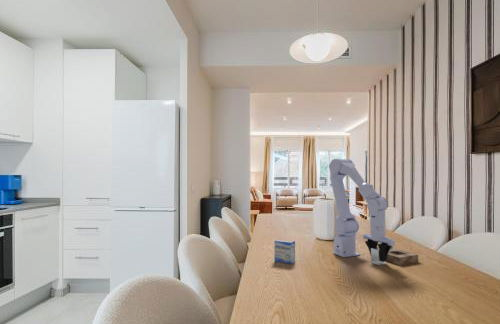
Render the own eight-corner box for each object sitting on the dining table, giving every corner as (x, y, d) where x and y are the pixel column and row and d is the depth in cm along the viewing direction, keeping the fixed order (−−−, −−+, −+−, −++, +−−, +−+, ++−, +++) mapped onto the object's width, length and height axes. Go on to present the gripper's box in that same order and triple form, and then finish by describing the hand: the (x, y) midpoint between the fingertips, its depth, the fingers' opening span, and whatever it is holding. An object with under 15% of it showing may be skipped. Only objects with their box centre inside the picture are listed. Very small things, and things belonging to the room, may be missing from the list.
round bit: (387, 253, 136) (386, 240, 137) (377, 250, 142) (377, 238, 142) (395, 252, 139) (395, 239, 139) (385, 249, 144) (385, 237, 144)
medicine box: (274, 261, 125) (273, 240, 125) (278, 258, 128) (278, 238, 129) (291, 264, 121) (291, 242, 121) (295, 261, 125) (295, 240, 125)
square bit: (378, 265, 119) (378, 250, 120) (371, 262, 123) (370, 248, 123) (386, 264, 121) (385, 249, 121) (378, 261, 125) (378, 247, 125)
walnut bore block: (399, 265, 119) (399, 257, 119) (377, 258, 129) (377, 251, 129) (418, 261, 123) (418, 254, 124) (395, 255, 134) (395, 248, 134)
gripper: (399, 228, 117) (400, 263, 117) (371, 223, 131) (372, 254, 130) (386, 230, 115) (387, 265, 114) (359, 224, 128) (359, 256, 127)
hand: (378, 259), depth 122 cm, fingers open, 4 cm apart
